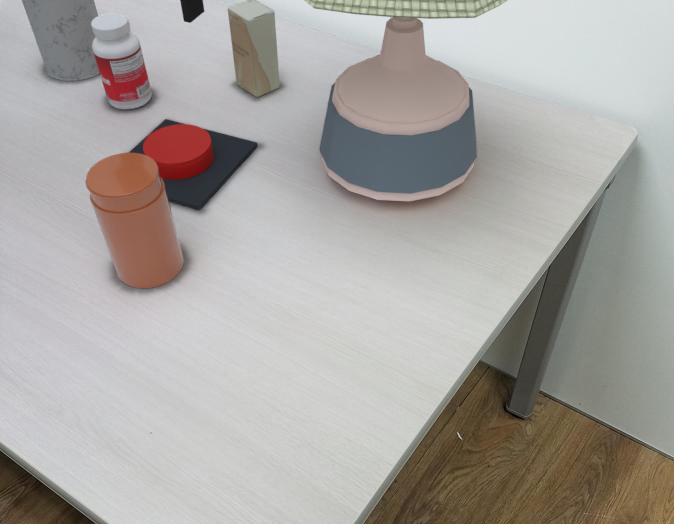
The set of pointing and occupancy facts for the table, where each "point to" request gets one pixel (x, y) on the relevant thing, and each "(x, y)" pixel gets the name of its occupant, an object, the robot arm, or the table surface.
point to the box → (254, 46)
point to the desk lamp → (401, 108)
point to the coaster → (206, 184)
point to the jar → (135, 219)
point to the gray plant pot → (64, 36)
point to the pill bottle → (120, 62)
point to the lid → (180, 151)
